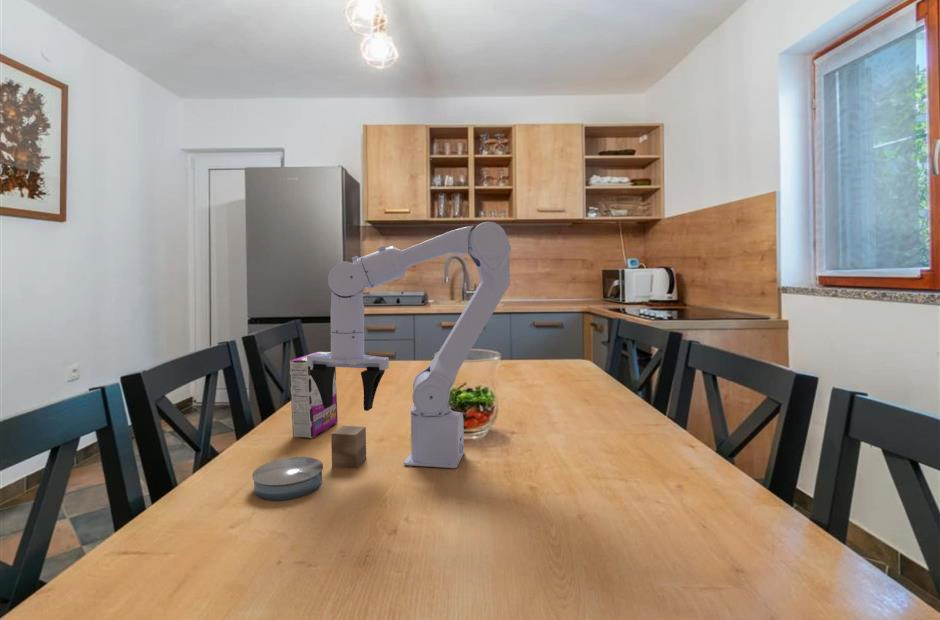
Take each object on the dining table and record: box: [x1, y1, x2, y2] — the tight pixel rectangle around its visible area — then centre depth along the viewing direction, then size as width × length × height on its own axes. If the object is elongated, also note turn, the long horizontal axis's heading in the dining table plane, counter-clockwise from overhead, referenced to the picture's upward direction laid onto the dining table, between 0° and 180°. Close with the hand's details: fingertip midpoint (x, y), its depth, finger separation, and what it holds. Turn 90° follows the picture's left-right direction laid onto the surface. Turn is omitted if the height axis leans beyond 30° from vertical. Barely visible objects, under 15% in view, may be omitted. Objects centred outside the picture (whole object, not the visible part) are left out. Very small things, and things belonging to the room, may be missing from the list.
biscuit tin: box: [252, 456, 324, 502], centre depth 74 cm, size 10×10×3 cm
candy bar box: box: [289, 351, 339, 439], centre depth 101 cm, size 11×5×16 cm, turn 168°
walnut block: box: [330, 425, 367, 470], centre depth 84 cm, size 4×4×6 cm
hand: (347, 407), depth 83 cm, fingers open, 7 cm apart
